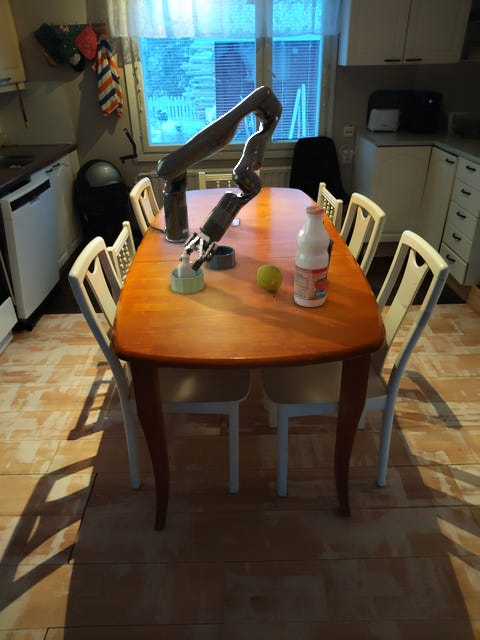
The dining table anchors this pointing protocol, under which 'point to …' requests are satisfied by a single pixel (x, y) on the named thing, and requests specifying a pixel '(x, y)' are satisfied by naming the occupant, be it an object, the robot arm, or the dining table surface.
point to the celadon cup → (187, 282)
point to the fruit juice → (312, 260)
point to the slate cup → (222, 258)
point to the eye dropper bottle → (186, 267)
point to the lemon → (269, 277)
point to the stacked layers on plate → (235, 222)
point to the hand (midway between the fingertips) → (187, 265)
